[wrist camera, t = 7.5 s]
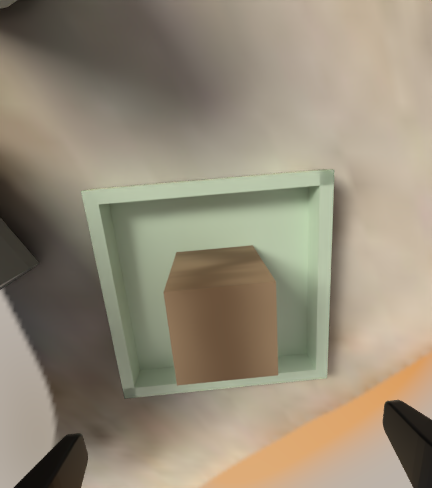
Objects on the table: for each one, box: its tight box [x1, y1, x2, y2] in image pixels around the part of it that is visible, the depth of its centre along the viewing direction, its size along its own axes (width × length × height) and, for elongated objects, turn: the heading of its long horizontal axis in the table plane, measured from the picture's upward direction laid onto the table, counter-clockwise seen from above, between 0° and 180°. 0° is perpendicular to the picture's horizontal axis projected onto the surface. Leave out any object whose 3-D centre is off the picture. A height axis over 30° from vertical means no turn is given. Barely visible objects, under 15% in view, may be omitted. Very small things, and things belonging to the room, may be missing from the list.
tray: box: [81, 170, 334, 399], centre depth 18 cm, size 14×14×2 cm
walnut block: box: [163, 245, 278, 386], centre depth 16 cm, size 5×5×6 cm
